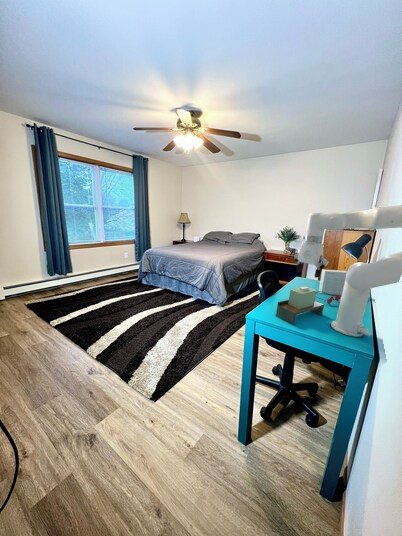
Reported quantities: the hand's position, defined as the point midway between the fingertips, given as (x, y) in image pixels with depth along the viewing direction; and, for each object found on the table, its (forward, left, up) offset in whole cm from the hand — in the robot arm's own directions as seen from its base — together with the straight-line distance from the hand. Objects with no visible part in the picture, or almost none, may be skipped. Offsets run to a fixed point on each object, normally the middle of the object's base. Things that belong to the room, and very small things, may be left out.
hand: (307, 274), depth 106 cm
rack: (0, 0, -22) cm, 22 cm away
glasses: (+9, -34, -22) cm, 42 cm away
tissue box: (0, 0, -16) cm, 16 cm away
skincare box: (+11, -54, -22) cm, 59 cm away
